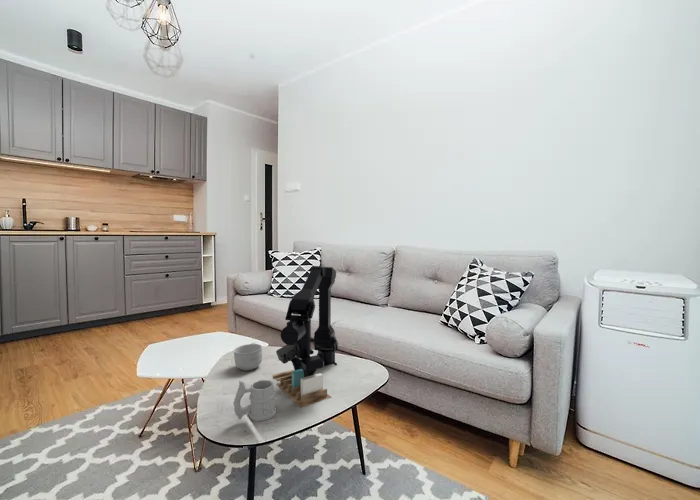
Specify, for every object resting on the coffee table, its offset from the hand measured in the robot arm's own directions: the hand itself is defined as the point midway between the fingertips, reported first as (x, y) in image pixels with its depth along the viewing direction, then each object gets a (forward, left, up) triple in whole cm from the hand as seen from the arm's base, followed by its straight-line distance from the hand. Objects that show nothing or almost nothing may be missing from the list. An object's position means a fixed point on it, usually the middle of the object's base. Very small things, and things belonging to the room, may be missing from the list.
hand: (302, 381), depth 112 cm
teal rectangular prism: (0, 0, -3) cm, 3 cm away
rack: (0, 0, -4) cm, 4 cm away
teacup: (+7, -33, -4) cm, 34 cm away
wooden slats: (0, -14, -4) cm, 15 cm away
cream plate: (0, +7, -3) cm, 7 cm away
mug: (+18, +6, -4) cm, 19 cm away
